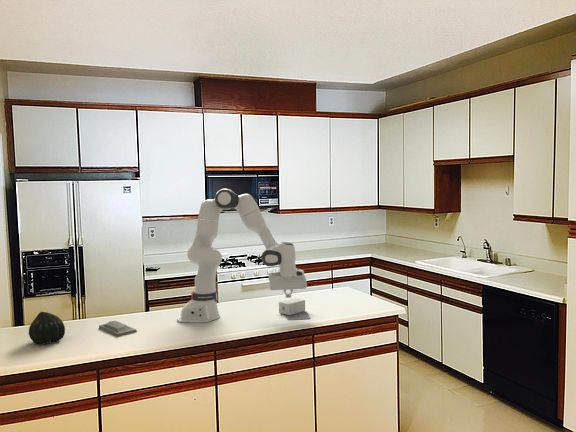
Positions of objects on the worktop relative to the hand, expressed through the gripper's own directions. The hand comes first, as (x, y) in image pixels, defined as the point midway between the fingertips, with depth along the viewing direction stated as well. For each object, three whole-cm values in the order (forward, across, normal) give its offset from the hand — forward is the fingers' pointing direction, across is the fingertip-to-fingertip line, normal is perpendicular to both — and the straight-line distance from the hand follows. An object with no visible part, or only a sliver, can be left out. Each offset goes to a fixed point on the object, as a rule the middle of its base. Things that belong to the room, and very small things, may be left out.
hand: (288, 297), depth 250 cm
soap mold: (+11, -88, -9) cm, 89 cm away
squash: (+10, -116, -21) cm, 119 cm away
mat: (+10, +5, -1) cm, 11 cm away
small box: (+7, -3, +2) cm, 8 cm away
